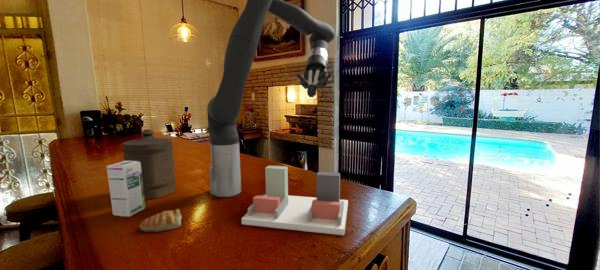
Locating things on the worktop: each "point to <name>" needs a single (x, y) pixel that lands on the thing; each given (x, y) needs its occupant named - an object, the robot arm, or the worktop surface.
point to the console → (298, 214)
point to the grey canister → (153, 163)
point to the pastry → (162, 221)
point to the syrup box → (126, 188)
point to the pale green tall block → (276, 181)
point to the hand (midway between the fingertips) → (311, 95)
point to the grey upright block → (328, 186)
